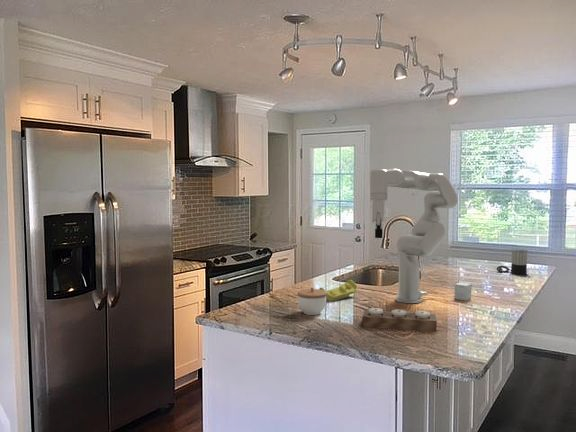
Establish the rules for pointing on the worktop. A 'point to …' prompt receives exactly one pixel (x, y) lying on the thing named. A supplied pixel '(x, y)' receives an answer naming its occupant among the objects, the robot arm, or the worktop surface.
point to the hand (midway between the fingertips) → (378, 237)
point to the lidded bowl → (312, 301)
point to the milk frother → (517, 263)
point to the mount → (399, 321)
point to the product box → (463, 291)
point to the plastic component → (341, 291)
